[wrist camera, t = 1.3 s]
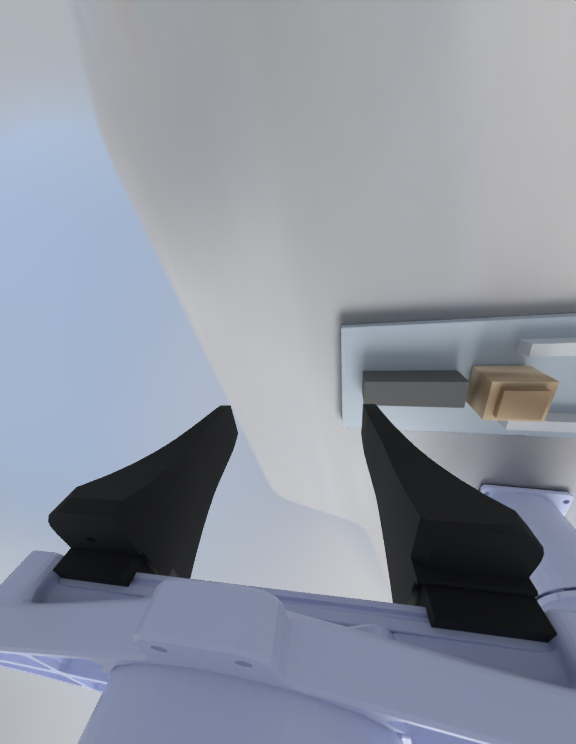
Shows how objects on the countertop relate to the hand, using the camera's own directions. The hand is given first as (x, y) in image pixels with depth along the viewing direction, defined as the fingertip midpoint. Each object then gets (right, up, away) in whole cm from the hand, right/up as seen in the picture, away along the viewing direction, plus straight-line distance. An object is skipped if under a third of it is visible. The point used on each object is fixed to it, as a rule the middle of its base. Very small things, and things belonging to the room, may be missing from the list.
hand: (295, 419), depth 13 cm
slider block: (+18, +2, +7) cm, 19 cm away
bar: (+11, +2, +9) cm, 14 cm away
